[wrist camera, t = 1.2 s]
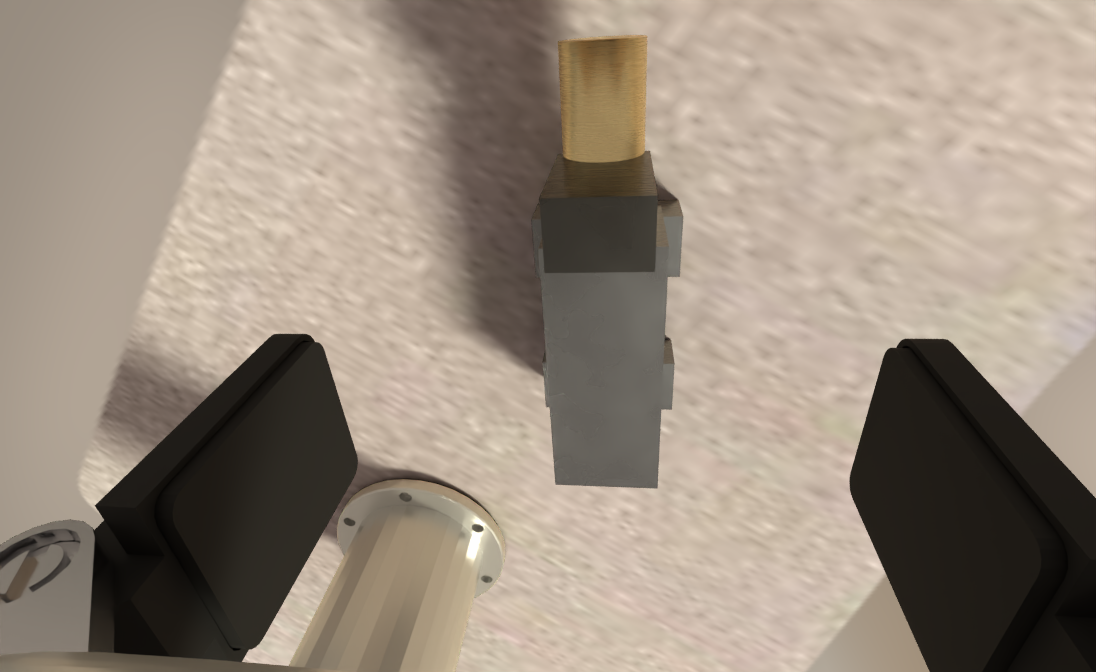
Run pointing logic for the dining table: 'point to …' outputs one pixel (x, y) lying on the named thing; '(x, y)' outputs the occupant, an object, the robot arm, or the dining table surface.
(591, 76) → the brass rod
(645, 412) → the metal sleeve
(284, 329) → the dining table surface
